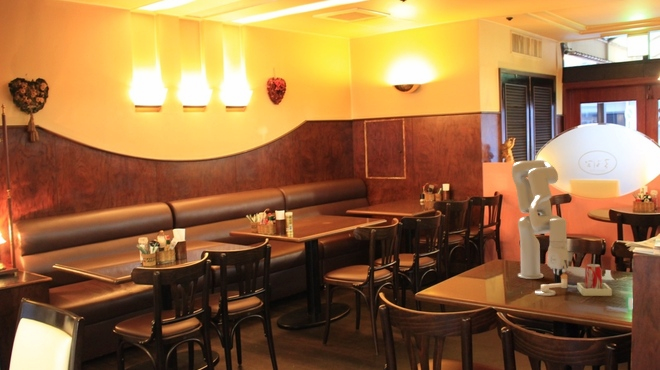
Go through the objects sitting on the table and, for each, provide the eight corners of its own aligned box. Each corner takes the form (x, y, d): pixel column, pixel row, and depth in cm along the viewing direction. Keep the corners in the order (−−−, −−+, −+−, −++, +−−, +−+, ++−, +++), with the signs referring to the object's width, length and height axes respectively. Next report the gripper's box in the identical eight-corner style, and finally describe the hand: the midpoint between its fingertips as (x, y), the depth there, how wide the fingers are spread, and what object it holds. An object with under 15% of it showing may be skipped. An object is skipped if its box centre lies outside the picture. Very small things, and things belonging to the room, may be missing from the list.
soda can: (603, 292, 289) (603, 266, 289) (586, 292, 291) (586, 266, 290) (600, 289, 296) (600, 263, 295) (584, 288, 298) (583, 263, 297)
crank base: (533, 291, 299) (533, 288, 299) (553, 291, 298) (553, 288, 298) (536, 296, 291) (536, 293, 290) (557, 296, 289) (556, 293, 289)
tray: (577, 289, 300) (577, 282, 300) (604, 289, 298) (604, 282, 298) (582, 295, 288) (582, 289, 288) (611, 295, 286) (611, 289, 286)
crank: (539, 290, 295) (539, 275, 295) (564, 287, 298) (564, 272, 298) (543, 292, 292) (543, 276, 291) (569, 289, 295) (569, 274, 294)
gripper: (541, 242, 304) (541, 280, 306) (561, 247, 290) (562, 286, 292) (554, 241, 307) (554, 278, 308) (575, 245, 293) (575, 285, 294)
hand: (558, 282), depth 300 cm, fingers closed
